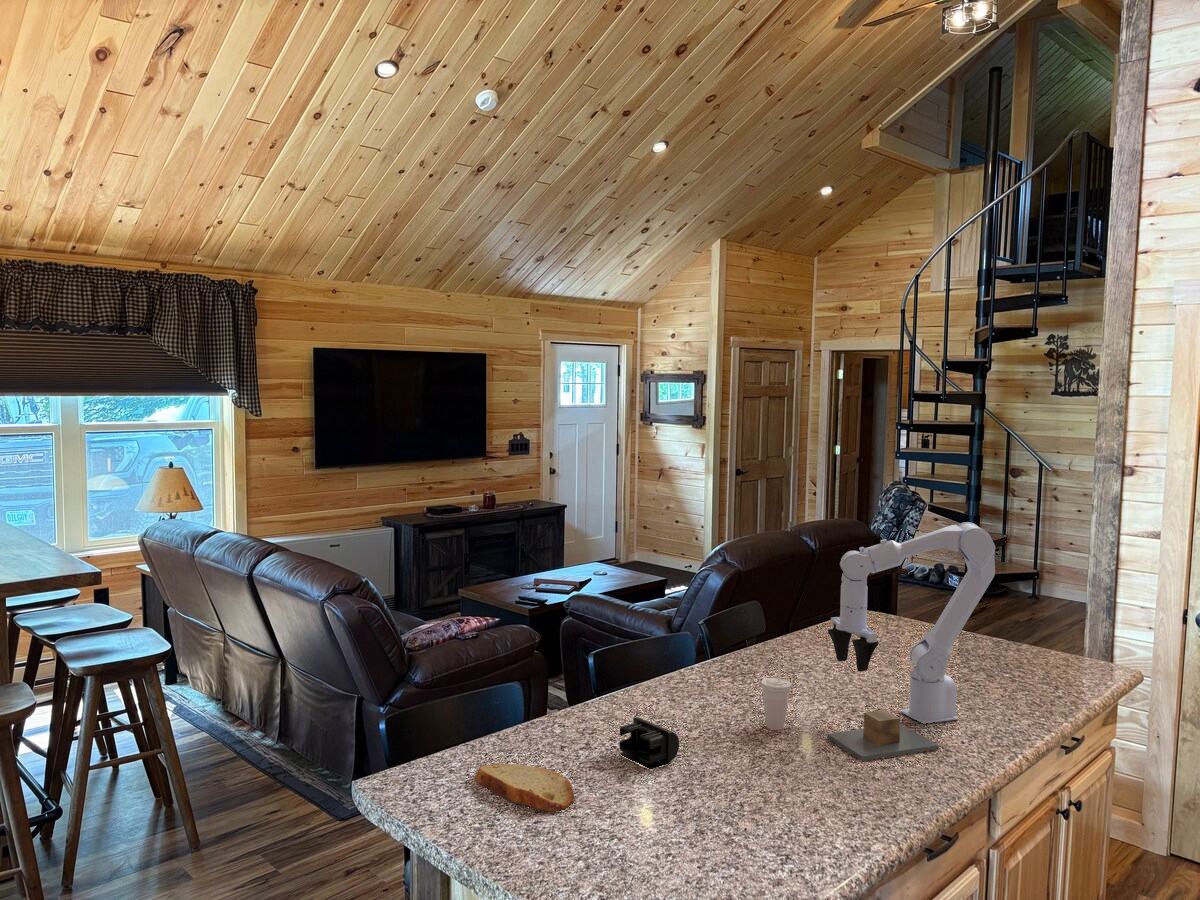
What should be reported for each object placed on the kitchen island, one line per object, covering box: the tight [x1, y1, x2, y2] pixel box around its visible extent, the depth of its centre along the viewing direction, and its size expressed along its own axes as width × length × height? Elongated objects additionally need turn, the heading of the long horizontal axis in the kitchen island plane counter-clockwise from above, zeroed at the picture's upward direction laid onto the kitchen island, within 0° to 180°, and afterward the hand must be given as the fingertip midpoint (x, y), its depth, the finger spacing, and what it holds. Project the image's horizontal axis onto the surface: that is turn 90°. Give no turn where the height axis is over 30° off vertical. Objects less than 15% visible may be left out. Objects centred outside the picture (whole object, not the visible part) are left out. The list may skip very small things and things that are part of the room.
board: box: [826, 723, 939, 762], centre depth 183 cm, size 18×12×1 cm, turn 109°
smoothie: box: [760, 661, 792, 731], centre depth 191 cm, size 6×6×14 cm
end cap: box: [619, 716, 680, 769], centre depth 175 cm, size 10×7×7 cm
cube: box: [863, 709, 901, 746], centre depth 183 cm, size 5×5×5 cm
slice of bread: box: [474, 763, 576, 813], centre depth 160 cm, size 18×18×4 cm
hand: (851, 665), depth 201 cm, fingers open, 7 cm apart
